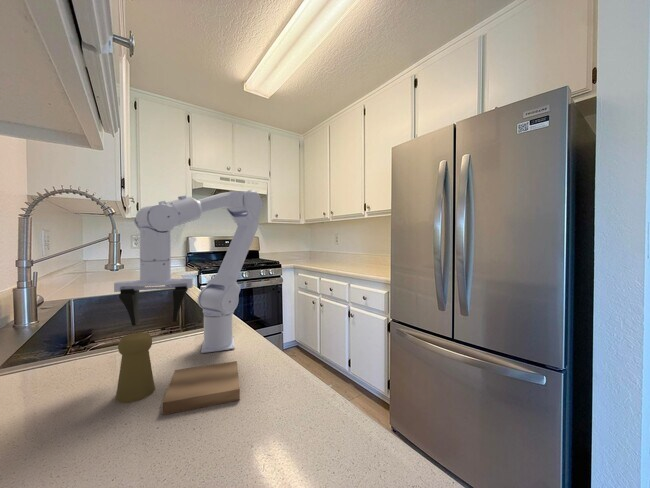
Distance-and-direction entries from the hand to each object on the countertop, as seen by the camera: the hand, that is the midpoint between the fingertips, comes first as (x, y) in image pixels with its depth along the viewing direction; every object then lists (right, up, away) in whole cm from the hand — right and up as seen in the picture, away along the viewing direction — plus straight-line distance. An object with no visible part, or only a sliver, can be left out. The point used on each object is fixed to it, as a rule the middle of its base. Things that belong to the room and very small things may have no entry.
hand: (155, 322), depth 60 cm
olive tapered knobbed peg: (+2, -11, -9) cm, 14 cm away
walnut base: (+14, -11, -8) cm, 19 cm away
